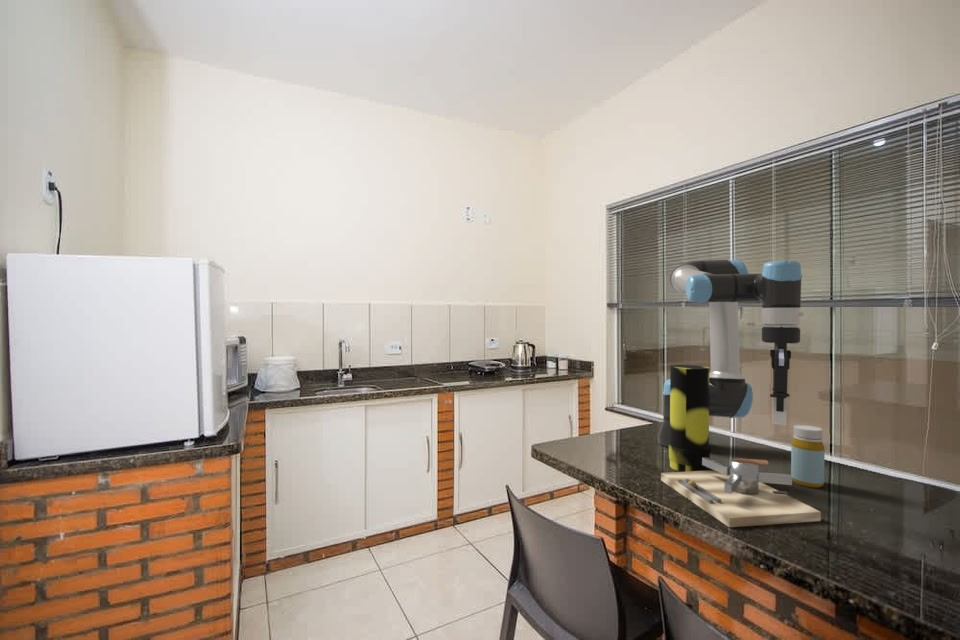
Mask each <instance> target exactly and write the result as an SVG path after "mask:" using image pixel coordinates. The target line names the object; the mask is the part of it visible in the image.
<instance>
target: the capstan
mask: <svg viewBox="0 0 960 640" xmlns="http://www.w3.org/2000/svg"><path fill="white" fill-rule="evenodd" d="M702 465H704V466H706V467H708V468H709V469H711V470H715V471H718V472H720V473H722V474H725V475H727V476H728V475H730V478H729V479H728V480H727V481H726V483H725V484H724V492H725V493H729V494H732V493H733V492H734V491H736V492H739V493H743V494H752V495H753V494H758V493H759V482H761V483H763V484H775V485H776V484H777V485H784V486H785V485H788V486H793V480H792V476H791V474H786V473H776V472H775V473H772V472H760V465H769V461H768V460H766V459H753V458H745V457H744V458H743V457H731V458H730V460H729V465H728V464H725V463H722V462H720V461H717V460H715V459H712V458H711V457H710V458H707V457H703V458H702Z"/></svg>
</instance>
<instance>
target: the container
mask: <svg viewBox="0 0 960 640" xmlns="http://www.w3.org/2000/svg"><path fill="white" fill-rule="evenodd" d="M669 367H670V370H669V371H670V372H669V373H670V375H669V377H670V378H669V379H670V442H669V448H668V459H669V467H670V468H671V469H672V470H674V472H688V471H708V470H709V469H710V468H708V467H706V466H704V465H702V458H703V457H707V458H710V459H711V448H710V416H709V373H710V367H708V366H704V365H692V364H673V365H671V364H670V366H669Z"/></svg>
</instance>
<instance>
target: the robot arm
mask: <svg viewBox="0 0 960 640" xmlns="http://www.w3.org/2000/svg"><path fill="white" fill-rule="evenodd" d="M802 278H803V274H802V265H801V263H800V262H799V261H797V260H776V261H775V260H774V261H768V262H765V263H764V264H763V267H762V272H761V273H749V270H748V268H747V265H746V264H745V263H744V262H743V261H741V260H739V259H715V260H714V259H712V260H711V259H710V260H709V259H708V260H692V261H687V262H684V263H682V264H679V265H677V266H676V267H675V268H674V269H673V270H672V271H671V273H670V277H669V282H670V285H671V287H672V288H673V289H674V290H675V291H676V292H679V293H681V294H686V297H687V300H688V302H690V303H697V304H698V303H699V304H704V303H708V304H709V305H708V306H709V342H710V343H709V350H710V353H709V355H710V358H709V359H710V371H709V417H713V418H714V417H718V418H729V419H733V418H734V419H735V418H736V419H740V418H745V417H746V416H748V414H749V413H750V412H751V409H752V406H753V399H754V398H753V397H754V393H753V388H752V385H751V384H749V383H748V382H746V377H744V376H743V374H741V372H740V371H741V370H740V342H739V339H740V338H739V335H740V334H739V305H738V303H761V305H762V308H761V324H762V325H764V326H762V328H761V341H762V342H763V343H768V344H773V345H774V348H773V349H770V350H769V353H770V354H769V356H770V358H771V362H770V364H771V365H770V366H771V368H772V373H773V374H772V389H771V390H772V393H769V398H772V413H771V414H772V416H771V417H772V425H778V426H787V410H788V409H787V406H788V398H790V396H791V395H790V393H788V378H789V377H788V373H789V372H788V370H789V369H790V362H791V361H790V359H791V358H792V351H791V350H788V344H799V343H801V328H800V327H798V326H800V324H801V317H804V314H805V313H804V312H803V311H802V312H801V307H802V306H801V303H802V302H801V300H802ZM662 391H663V392H662V395H663V408H662V409H663V412H662V413H663V419H662V423H661V425H660V428H659V432H658V434H657V442H658V444H659V445H661V446H663V447H666V448H668V449H669V442H670V378H669V379H667V380H665V381H664V383H663V390H662Z"/></svg>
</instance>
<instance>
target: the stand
mask: <svg viewBox="0 0 960 640" xmlns="http://www.w3.org/2000/svg"><path fill="white" fill-rule="evenodd" d="M729 478H730V475H728V476H727V475H725V474H722V473H720V472H718V471H715V470H713V469H711V470H708V471H688V472H678V471H674V472H673V471H671V472H660V481H661V482H662V483H664V484H666V485H667V486H669V487H670V488H671V489H673V490H675V491H676V492H677V493H679V494H680V495H682V497H685V498H686V499H687V498H688V499H687V500H689V501H690V500H691V501H690V502H692V503H693V504H695V505H696V506H697V507H699V508H700V509H702V510H703V511H705V512H706V513H708V514H709V515H711V516H712V517H713V518H715V519H717V521H720V522H721V523H722V524H724V525H725V526H727V527H728V528H738V527H753V526H754V527H755V526H769V525H782V524H783V525H784V524H794V523H795V524H796V523H809V522H822V521H821V520H822V511H820V510H819V509H816V508H814V507H812V506H811V505H808V504H807V503H804V502H802V501H800V500H799V499H796V498H794V497H792V496H790V495H789V492H787V491H780V490H778V489H775V488H774V487H772V486H769V485H767V484H766V483H761V482H759V493H758V494H753V495H752V494H743V493H739V492H736V491H734V492H733V493H732V494H729V493H725V492H724V484H725V483H726V481H727V480H728V479H729Z"/></svg>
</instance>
